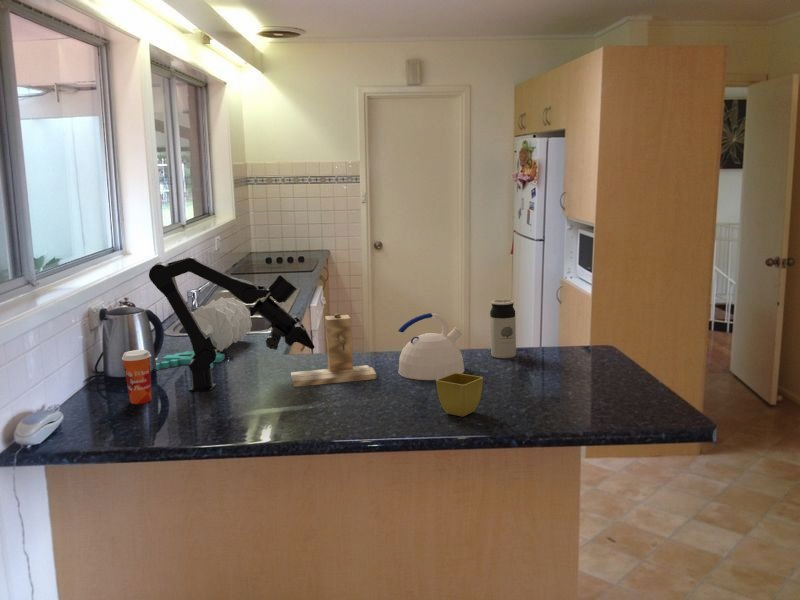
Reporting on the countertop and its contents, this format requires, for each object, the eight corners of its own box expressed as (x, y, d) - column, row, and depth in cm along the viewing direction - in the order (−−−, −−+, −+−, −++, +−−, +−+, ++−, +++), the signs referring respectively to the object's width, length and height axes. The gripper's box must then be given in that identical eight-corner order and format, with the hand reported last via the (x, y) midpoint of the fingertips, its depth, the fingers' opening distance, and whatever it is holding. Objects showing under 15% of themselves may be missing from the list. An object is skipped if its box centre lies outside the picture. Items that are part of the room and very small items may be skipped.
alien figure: (211, 370, 239) (231, 355, 258) (210, 363, 238) (230, 349, 258) (151, 371, 241) (176, 356, 261) (151, 364, 241) (175, 350, 260)
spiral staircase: (246, 349, 282) (221, 363, 257) (204, 330, 283) (176, 342, 259) (263, 306, 278) (239, 316, 254) (221, 287, 280) (194, 295, 255)
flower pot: (456, 405, 192) (455, 371, 190) (484, 411, 186) (483, 376, 185) (436, 414, 185) (434, 380, 184) (464, 421, 180) (463, 385, 178)
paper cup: (125, 406, 203) (119, 357, 200) (127, 398, 210) (122, 350, 208) (155, 403, 205) (150, 354, 202) (156, 395, 212) (151, 348, 210)
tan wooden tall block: (333, 384, 212) (330, 322, 209) (328, 370, 227) (324, 313, 224) (357, 382, 213) (354, 320, 210) (350, 368, 228) (347, 311, 225)
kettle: (477, 374, 220) (475, 315, 217) (413, 384, 213) (410, 323, 209) (448, 359, 239) (446, 304, 235) (388, 368, 231) (385, 311, 228)
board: (294, 389, 212) (293, 381, 211) (290, 375, 227) (290, 367, 227) (376, 381, 216) (376, 373, 216) (368, 368, 232) (367, 360, 231)
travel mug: (490, 353, 244) (489, 299, 241) (514, 352, 243) (513, 298, 240) (492, 359, 236) (491, 303, 233) (517, 358, 236) (516, 303, 233)
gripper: (255, 328, 227) (293, 360, 231) (256, 341, 209) (297, 376, 213) (280, 301, 227) (317, 334, 231) (282, 312, 209) (323, 347, 213)
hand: (313, 348), depth 222 cm, fingers closed
